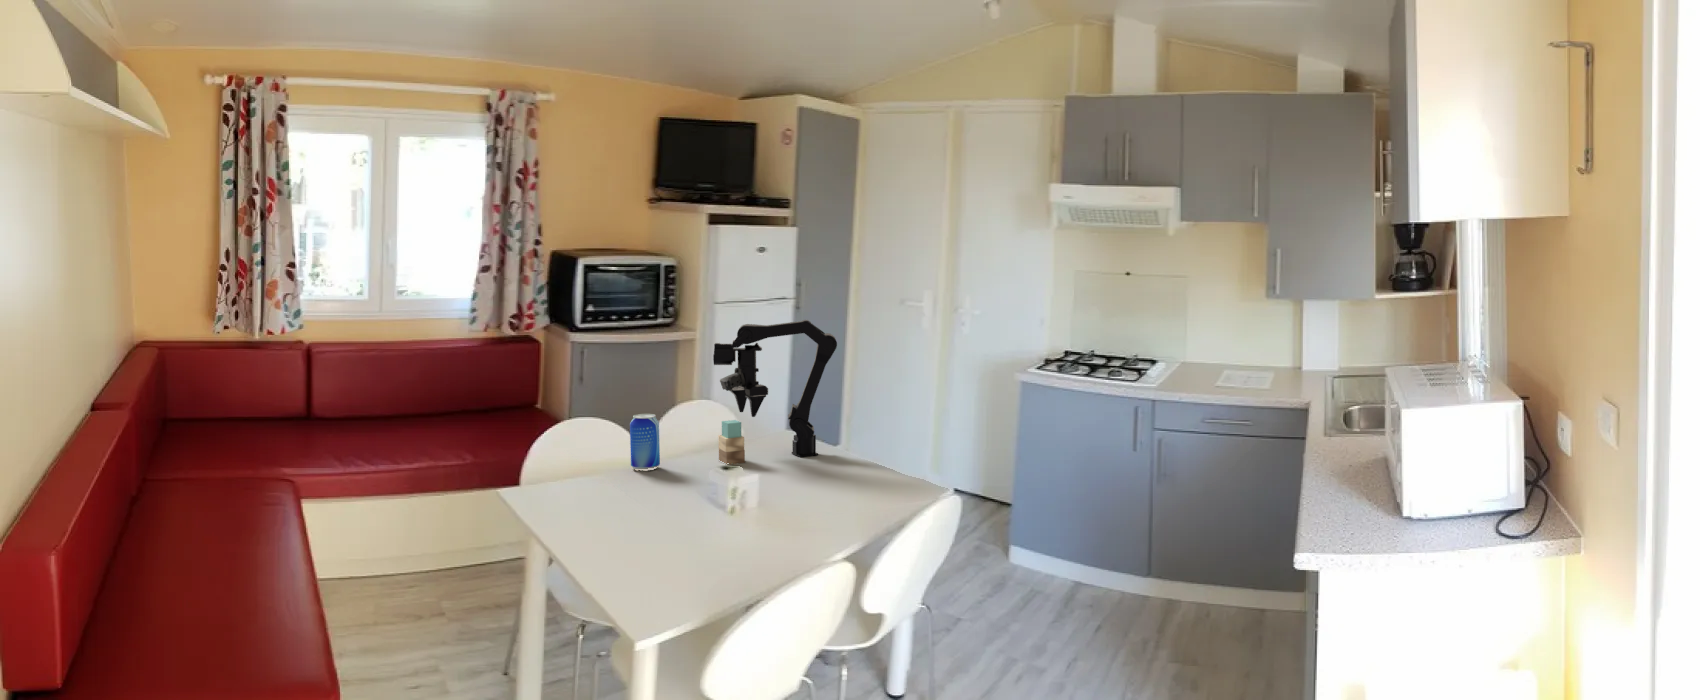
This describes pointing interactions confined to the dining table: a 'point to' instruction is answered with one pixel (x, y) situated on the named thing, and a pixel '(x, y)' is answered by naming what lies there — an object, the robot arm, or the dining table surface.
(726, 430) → the teal cube
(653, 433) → the beer can
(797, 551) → the dining table surface
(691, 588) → the dining table surface
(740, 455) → the tower base
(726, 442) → the tower top
